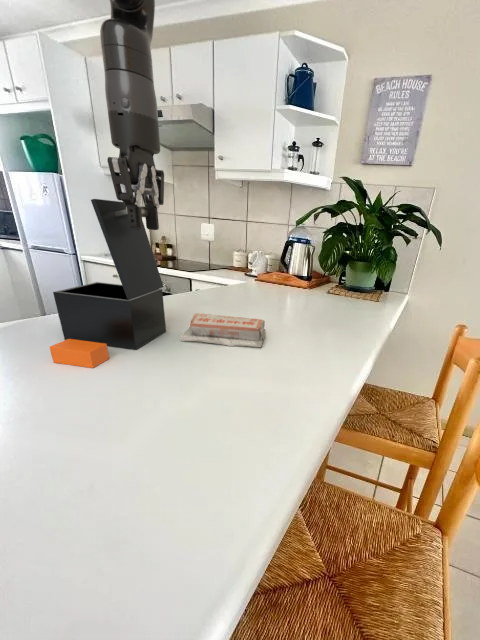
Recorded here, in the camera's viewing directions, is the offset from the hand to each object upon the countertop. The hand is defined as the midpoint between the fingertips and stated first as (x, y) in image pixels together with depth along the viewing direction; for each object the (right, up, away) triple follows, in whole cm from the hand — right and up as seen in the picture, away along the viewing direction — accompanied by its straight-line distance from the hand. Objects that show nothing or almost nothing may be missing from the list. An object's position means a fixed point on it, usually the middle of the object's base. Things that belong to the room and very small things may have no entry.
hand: (144, 229), depth 60 cm
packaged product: (+12, -18, +15) cm, 27 cm away
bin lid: (-4, -3, +2) cm, 5 cm away
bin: (-10, -18, +11) cm, 24 cm away
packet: (-11, -25, -2) cm, 27 cm away
